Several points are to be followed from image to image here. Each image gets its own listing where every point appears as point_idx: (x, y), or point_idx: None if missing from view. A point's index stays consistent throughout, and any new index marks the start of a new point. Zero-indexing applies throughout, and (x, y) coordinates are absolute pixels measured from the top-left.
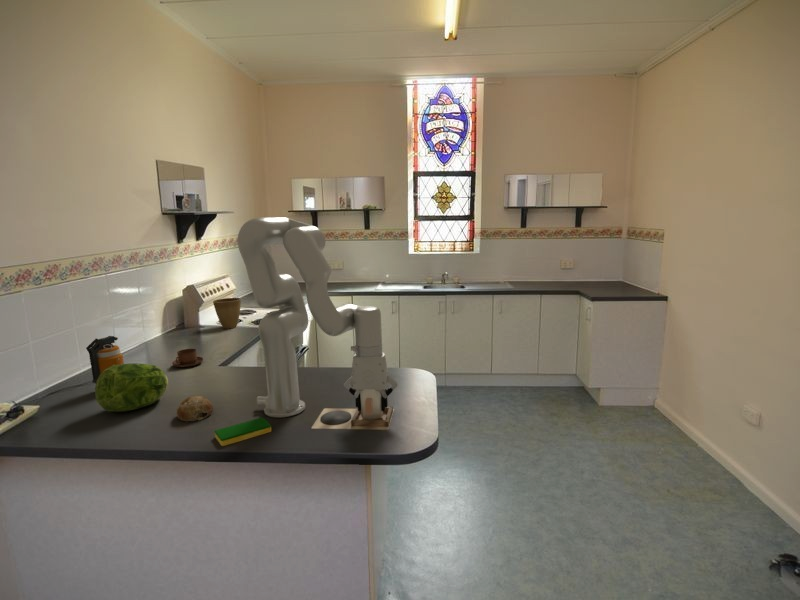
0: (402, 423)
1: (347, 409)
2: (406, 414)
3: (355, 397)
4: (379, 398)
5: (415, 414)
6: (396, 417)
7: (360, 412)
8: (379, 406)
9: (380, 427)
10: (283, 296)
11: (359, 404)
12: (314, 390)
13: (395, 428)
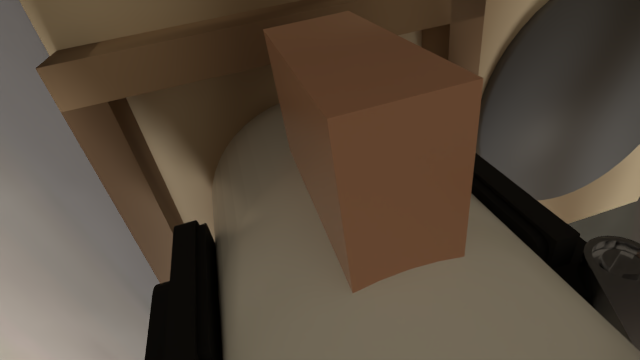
0: (25, 207)
1: None
2: (100, 329)
3: (609, 242)
4: (235, 349)
5: (30, 352)
6: (148, 272)
7: None
8: (227, 243)
9: (138, 7)
10: None
11: (490, 192)
12: None
13: (19, 98)
